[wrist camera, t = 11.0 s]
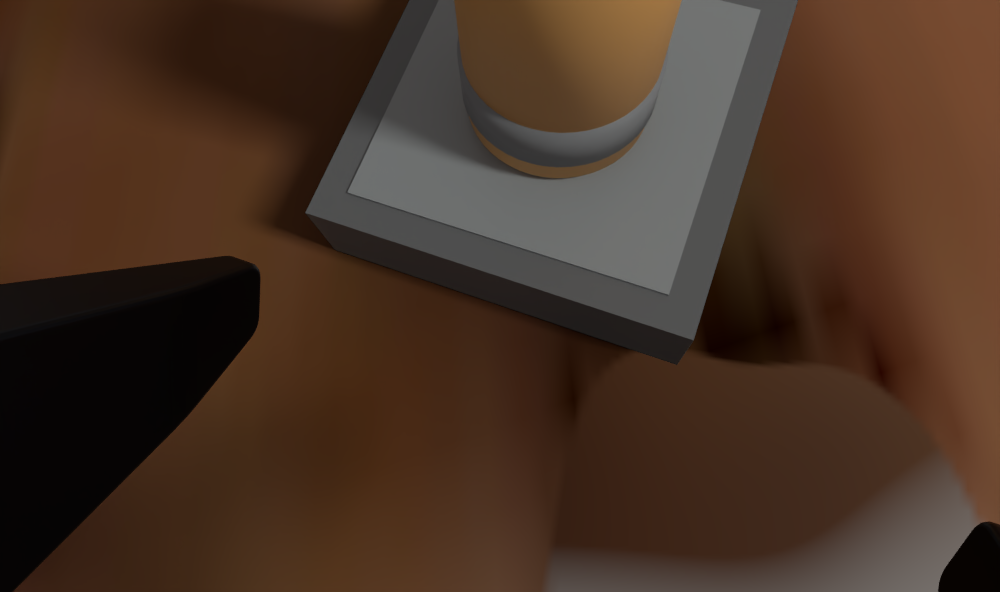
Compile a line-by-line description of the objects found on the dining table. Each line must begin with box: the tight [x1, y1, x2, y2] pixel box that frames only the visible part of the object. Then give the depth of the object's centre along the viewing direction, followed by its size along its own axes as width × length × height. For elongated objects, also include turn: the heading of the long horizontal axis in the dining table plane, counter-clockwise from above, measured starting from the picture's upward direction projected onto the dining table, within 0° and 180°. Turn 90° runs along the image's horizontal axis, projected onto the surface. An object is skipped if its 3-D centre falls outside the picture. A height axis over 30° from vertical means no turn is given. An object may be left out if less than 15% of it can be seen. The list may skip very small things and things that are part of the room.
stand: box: [305, 0, 798, 365], centre depth 24 cm, size 12×12×3 cm
